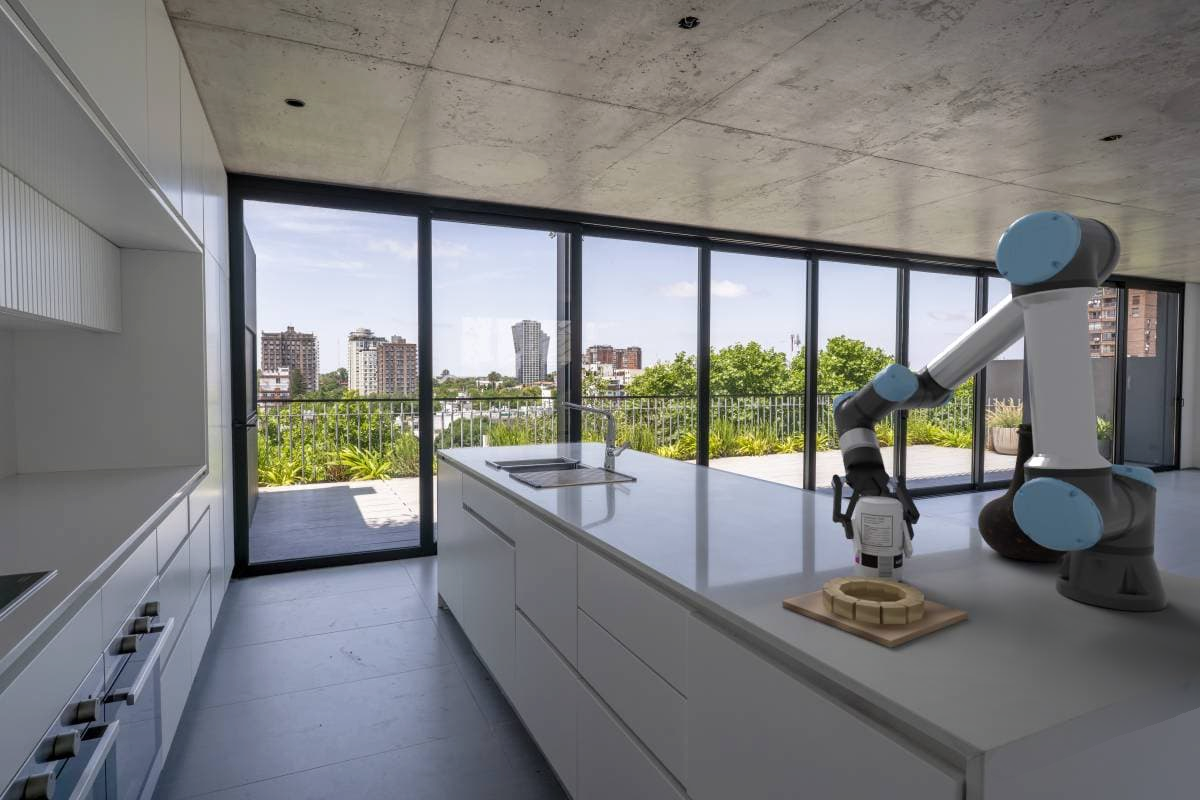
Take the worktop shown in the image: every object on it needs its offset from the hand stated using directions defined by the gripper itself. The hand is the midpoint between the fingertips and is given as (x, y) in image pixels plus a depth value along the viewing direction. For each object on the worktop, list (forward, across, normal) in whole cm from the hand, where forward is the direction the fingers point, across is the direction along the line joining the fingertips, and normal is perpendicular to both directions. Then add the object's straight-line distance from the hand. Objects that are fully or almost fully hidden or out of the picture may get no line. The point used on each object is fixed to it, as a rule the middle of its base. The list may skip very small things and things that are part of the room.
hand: (883, 554), depth 121 cm
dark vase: (-12, -35, -20) cm, 42 cm away
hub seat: (+14, +6, +6) cm, 17 cm away
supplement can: (+2, 0, -6) cm, 7 cm away
